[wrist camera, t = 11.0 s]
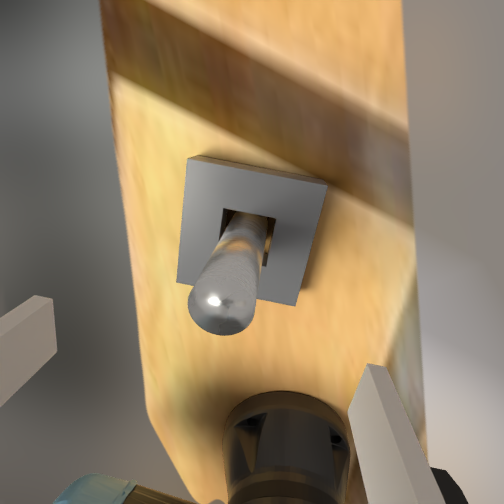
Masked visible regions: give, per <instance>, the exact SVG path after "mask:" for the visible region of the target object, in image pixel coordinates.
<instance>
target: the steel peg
mask: <svg viewBox="0 0 504 504" xmlns="http://www.w3.org/2000/svg"><path fill="white" fill-rule="evenodd" d="M267 228H268V222H267V219H266V217H265V216H261V215H256V214H251V213H246V212H241V211H237V212H236V213H235V214H234V216H233V218H232V219H231V221H230V223H229V225H228V226H227V228H226V230H225V232H224V234H223V235H222V237H221V239H220V241H219V242H218V244H217V246H216V248H215V250H214V251H213V253H212V255H211V257H210V258H209V260H208V262H207V264H206V266H205V267H204V269H203V271H202V273H201V274H200V276H199V278H198V280H197V282H196V283H195V285H194V287H193V289H192V291H191V292H190V294H189V297H188V310H189V313H190V315H191V317H192V319H193V320H194V322H195V323H196V324H197V325H198V326H199V327H201V328H202V329H204V330H205V331H207V332H210V333H212V334H216V335H224V336H225V335H233V334H236V333H239V332H241V331H243V330H244V329H245V328H247V326H248V325H249V324H250V323H251V321H252V319H253V317H254V312H255V305H256V299H257V293H258V286H259V280H260V273H261V267H262V261H263V254H264V248H265V241H266V235H267Z"/></svg>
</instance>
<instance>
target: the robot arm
mask: <svg viewBox="0 0 504 504" xmlns="http://www.w3.org/2000/svg"><path fill="white" fill-rule="evenodd" d="M56 352H57V344H56V332H55V321H54V309H53V300H52V299H50V298H45V297H41V296H36V295H34V296H33V297H31V298H30V299H28V300H27V301H25V302H24V303H22V304H21V305H19V306H18V307H16V308H15V309H13V310H12V311H10V312H9V313H7V314H6V315H4V316H3V317H1V318H0V407H1V406H2V405H3V404H4V403H5V402H6V401H7V400H8V399H9V398H10V397H11V396H12V395H13V394H14V393H15V392H16V391H17V390H18V389H19V388H20V387H21V386H23V385H24V383H25V382H27V381H28V380H29V379H30V377H32V376H33V375H34V374H35V373H36V372H37V371H38V370H39V369H40V368H41V367H42V366H43V365H44V364H45V363H46V362H47V361H48V360H49V359H50V358H51V357H52V356H53V355H54V354H55V353H56ZM348 417H349V421H350V425H351V430H352V434H353V438H354V443H355V447H356V451H357V456H358V460H359V464H360V469H361V473H362V477H363V482H364V486H365V490H366V495H367V499H368V503H369V504H468V502H467V500H466V498H465V496H464V494H463V492H462V490H461V489H460V487H459V486H458V485H457V484H456V482H455V481H454V480H453V479H452V477H451V476H450V475H449V474H448V472H447V471H446V470H442V469H437V468H432V467H430V466H429V464H428V462H427V459H426V457H425V455H424V453H423V450H422V448H421V446H420V443H419V441H418V439H417V437H416V434H415V432H414V430H413V427H412V425H411V423H410V421H409V418H408V416H407V414H406V412H405V409H404V407H403V405H402V402H401V400H400V398H399V396H398V393H397V391H396V389H395V386H394V384H393V382H392V380H391V377H390V375H389V373H388V370H387V368H386V367H383V366H378V365H373V364H368V363H367V365H366V368H365V370H364V372H363V375H362V377H361V380H360V382H359V385H358V387H357V390H356V392H355V394H354V397H353V399H352V402H351V404H350V407H349V409H348ZM222 452H223V460H224V468H225V475H226V483H227V491H228V504H344V503H345V495H346V487H347V480H348V472H349V464H350V447H349V441H348V437H347V432H346V428H345V426H344V423H343V421H342V420H341V418H340V417H339V416H338V415H337V413H336V412H335V411H334V410H332V409H331V408H330V407H329V406H327V405H326V404H324V403H323V402H321V401H319V400H317V399H314V398H312V397H309V396H306V395H303V394H298V393H292V392H269V393H264V394H259V395H256V396H253V397H251V398H249V399H247V400H245V401H243V402H242V403H240V404H239V405H238V406H237V407H235V408H234V409H233V411H232V412H231V413H230V415H229V417H228V419H227V421H226V425H225V430H224V435H223V441H222ZM52 504H196V503H193V502H190V501H187V500H183V499H181V498H178V497H175V496H172V495H168V494H165V493H162V492H159V491H156V490H153V489H150V488H146V487H144V486H141V485H138V484H137V481H136V480H131V481H126V480H122V479H118V478H114V477H110V476H107V475H102V474H97V473H92V474H87V475H85V476H83V477H80V478H79V479H77V480H76V481H74V482H73V483H72V484H70V485H69V486H68V487H67V488H66V489H65V490H64V491H63V492H62V493H61V494H60V496H59V497H58V498H57V499H56V500H55V501H54V503H52Z"/></svg>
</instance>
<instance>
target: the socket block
mask: <svg viewBox="0 0 504 504" xmlns="http://www.w3.org/2000/svg"><path fill="white" fill-rule="evenodd" d="M327 187H328V185H327V184H326V183H325V181H324V180H323V179H318V178H312V177H307V176H302V175H297V174H292V173H287V172H281V171H276V170H271V169H266V168H261V167H255V166H250V165H245V164H240V163H235V162H229V161H224V160H219V159H214V158H209V157H204V156H198V155H197V156H194V157H191V158H187V166H186V177H185V189H184V200H183V212H182V223H181V235H180V246H179V258H178V269H177V281H176V282H177V283H182V284H187V285H192V286H194V285H195V283H196V282H197V280H198V278H199V276H200V274H201V273H202V271H203V269H204V267H205V266H206V264H207V262H208V260H209V258H210V257H211V255H212V253H213V251H214V250H215V248H216V246H217V244H218V242H219V241H220V239H221V237H222V235H223V234H224V232H225V226H226V219H227V212H228V209H231V210H236V211H241V212H246V213H251V214H256V215H261V216H266V217H272V218H275V223H274V227H273V232H272V237H271V241H270V246H269V251H268V253H264V254H263V261H262V267H261V273H260V280H259V286H258V293H257V299H261V300H266V301H271V302H276V303H281V304H286V305H290V306H295V305H296V302H297V298H298V294H299V291H300V287H301V283H302V280H303V276H304V272H305V269H306V265H307V261H308V257H309V254H310V250H311V246H312V243H313V239H314V235H315V232H316V228H317V224H318V221H319V217H320V213H321V210H322V206H323V202H324V198H325V195H326V191H327Z"/></svg>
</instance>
